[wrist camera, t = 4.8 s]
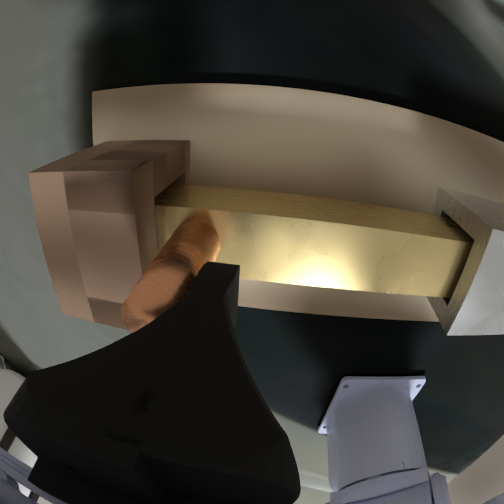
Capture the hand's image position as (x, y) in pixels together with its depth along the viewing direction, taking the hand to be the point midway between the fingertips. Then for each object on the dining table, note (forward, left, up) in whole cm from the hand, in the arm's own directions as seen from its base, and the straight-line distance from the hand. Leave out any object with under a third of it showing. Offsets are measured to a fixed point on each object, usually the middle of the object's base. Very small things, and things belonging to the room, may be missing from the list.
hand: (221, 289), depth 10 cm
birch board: (0, -7, -8) cm, 11 cm away
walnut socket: (0, +6, -7) cm, 9 cm away
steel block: (0, -16, -7) cm, 18 cm away
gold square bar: (0, -3, -6) cm, 7 cm away
